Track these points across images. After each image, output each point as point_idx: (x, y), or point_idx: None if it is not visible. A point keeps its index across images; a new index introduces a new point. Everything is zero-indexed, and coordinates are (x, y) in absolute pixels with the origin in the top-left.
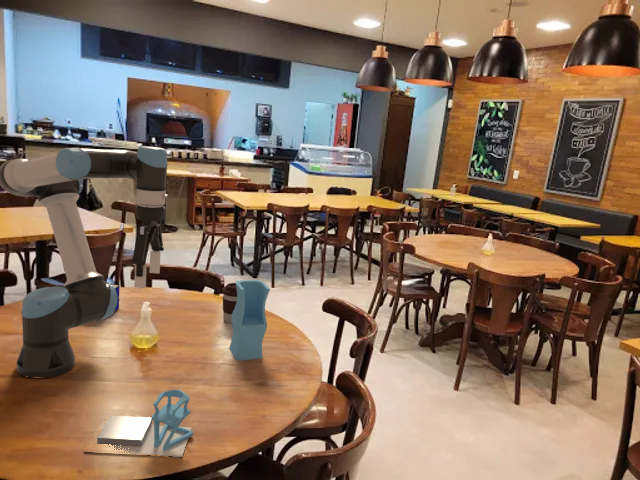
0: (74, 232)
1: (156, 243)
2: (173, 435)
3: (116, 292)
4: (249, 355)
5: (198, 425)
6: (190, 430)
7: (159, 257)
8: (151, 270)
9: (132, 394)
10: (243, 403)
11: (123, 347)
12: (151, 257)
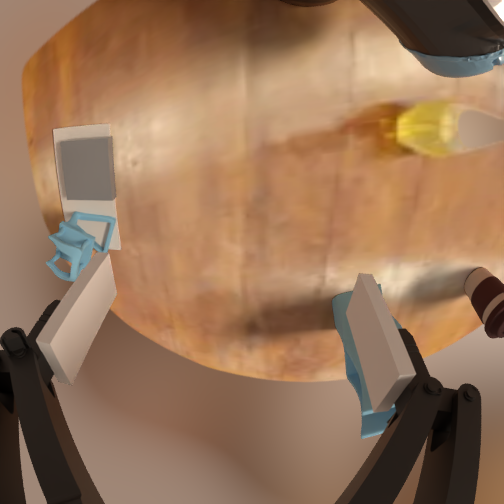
0: None
1: (361, 469)
2: (99, 230)
3: None
4: (335, 318)
5: (130, 256)
6: (106, 252)
7: (366, 383)
8: (360, 290)
9: (199, 140)
10: (194, 307)
11: (398, 88)
12: (382, 347)
